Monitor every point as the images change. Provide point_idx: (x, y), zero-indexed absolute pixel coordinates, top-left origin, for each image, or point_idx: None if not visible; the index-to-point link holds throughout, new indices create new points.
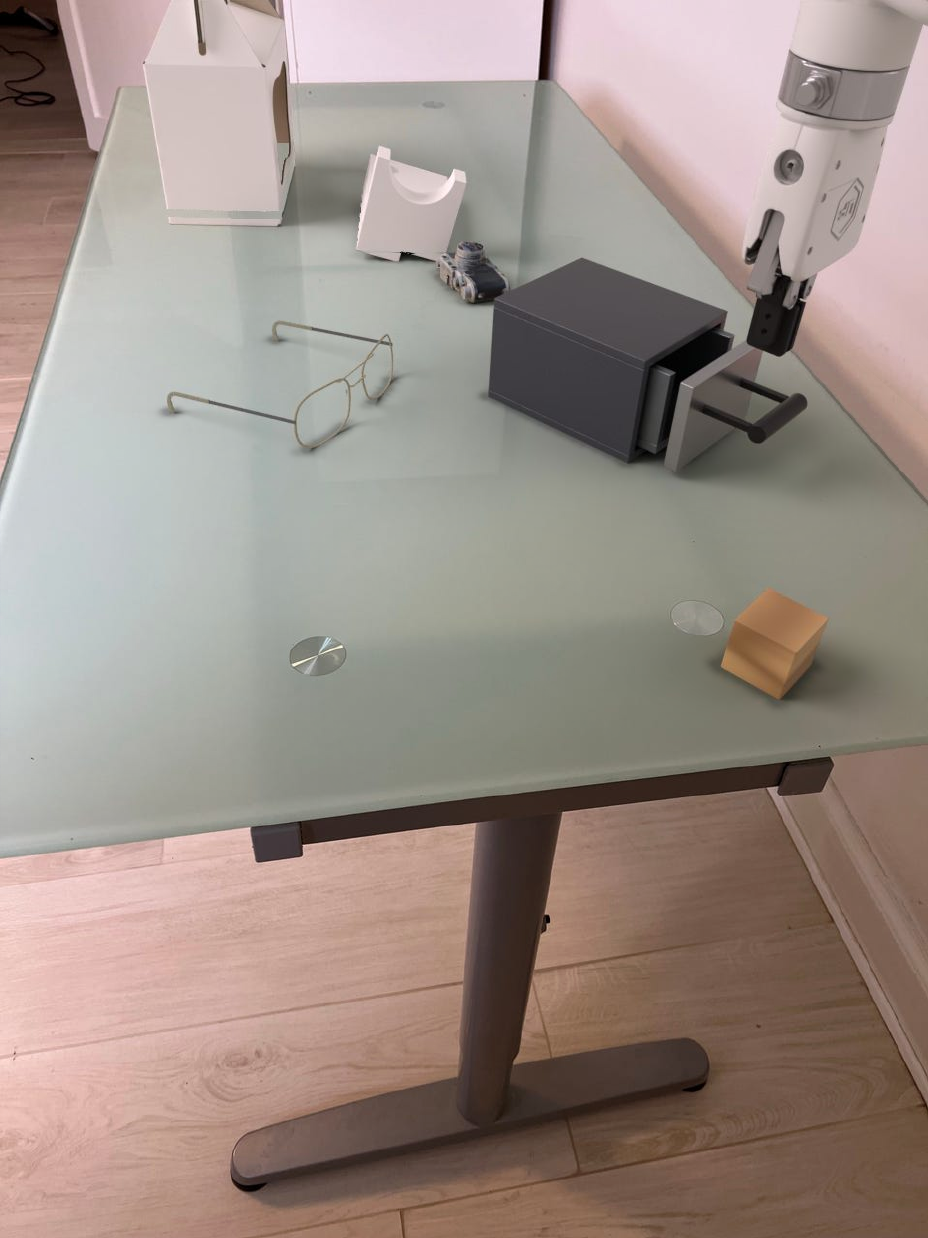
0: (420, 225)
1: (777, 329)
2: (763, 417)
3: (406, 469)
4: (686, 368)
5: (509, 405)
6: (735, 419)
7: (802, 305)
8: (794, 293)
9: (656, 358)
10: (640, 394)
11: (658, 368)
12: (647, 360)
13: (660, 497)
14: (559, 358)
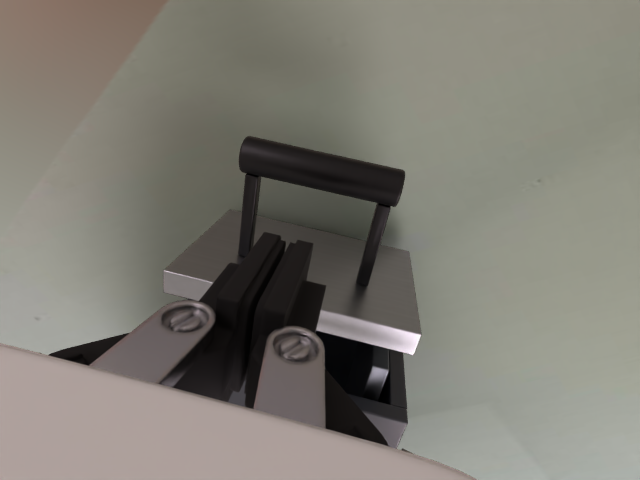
0: None
1: (311, 301)
2: (362, 194)
3: (520, 467)
4: None
5: None
6: (379, 233)
7: (241, 300)
8: (295, 370)
9: (371, 406)
10: (403, 372)
11: (376, 388)
12: (401, 420)
13: (451, 247)
14: None
